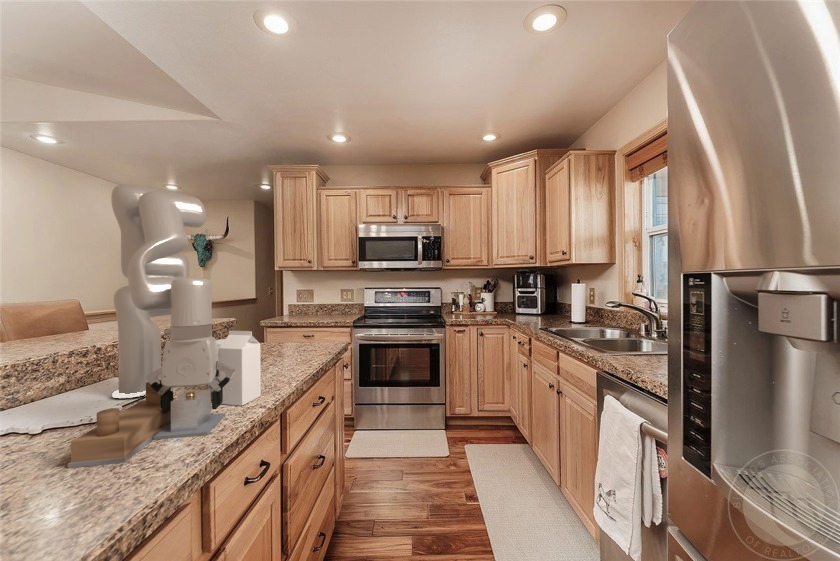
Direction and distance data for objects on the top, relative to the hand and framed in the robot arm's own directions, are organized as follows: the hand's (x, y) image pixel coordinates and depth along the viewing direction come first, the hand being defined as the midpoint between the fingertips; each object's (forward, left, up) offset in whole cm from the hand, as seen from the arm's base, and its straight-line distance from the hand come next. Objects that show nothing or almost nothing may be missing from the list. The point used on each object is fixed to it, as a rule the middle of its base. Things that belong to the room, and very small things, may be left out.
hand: (192, 409), depth 73 cm
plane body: (+3, -10, -4) cm, 11 cm away
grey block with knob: (0, 0, -3) cm, 3 cm away
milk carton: (-15, +5, -4) cm, 17 cm away
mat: (0, 0, -4) cm, 4 cm away
